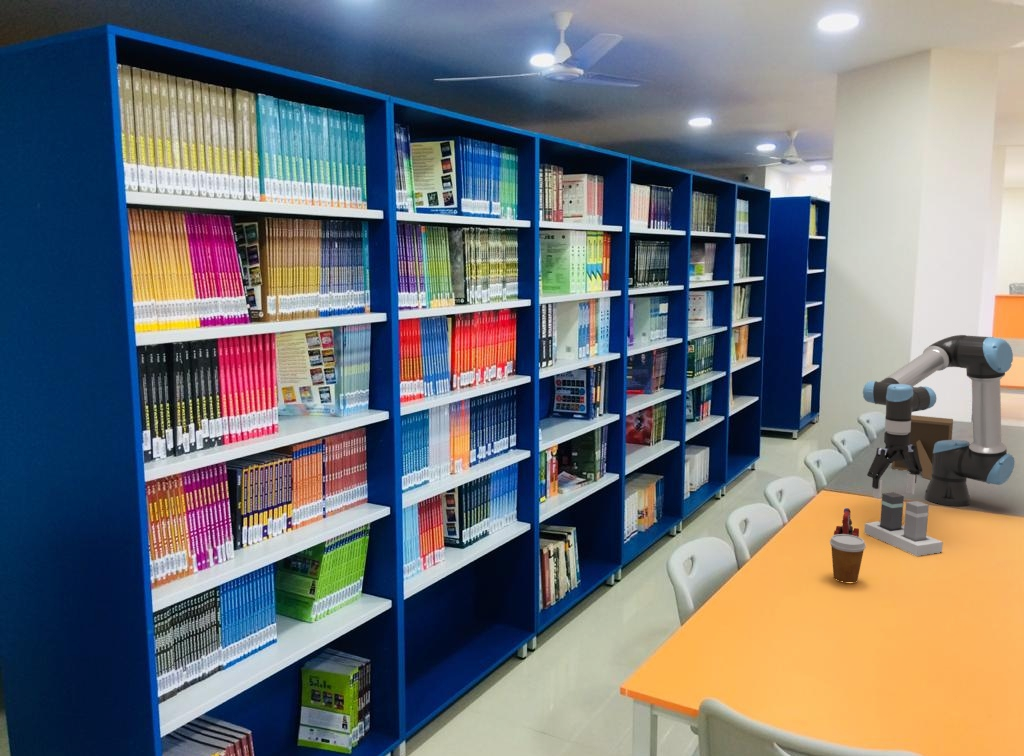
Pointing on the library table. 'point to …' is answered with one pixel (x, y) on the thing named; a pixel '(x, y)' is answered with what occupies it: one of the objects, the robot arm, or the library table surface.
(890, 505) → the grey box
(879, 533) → the white slotted plate
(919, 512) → the grey square plug
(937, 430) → the photo frame
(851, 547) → the disposable coffee cup
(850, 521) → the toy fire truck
